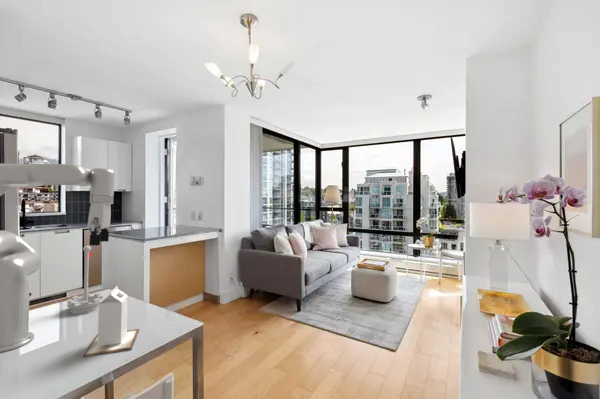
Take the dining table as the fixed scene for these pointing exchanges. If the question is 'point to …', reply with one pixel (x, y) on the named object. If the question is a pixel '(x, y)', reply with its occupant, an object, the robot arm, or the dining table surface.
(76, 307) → the flag stand
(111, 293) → the milk carton
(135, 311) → the dining table surface
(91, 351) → the clipboard
